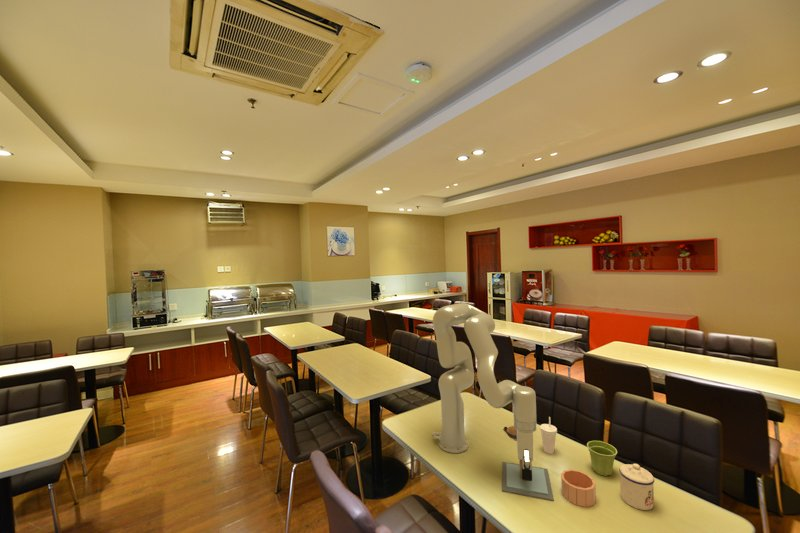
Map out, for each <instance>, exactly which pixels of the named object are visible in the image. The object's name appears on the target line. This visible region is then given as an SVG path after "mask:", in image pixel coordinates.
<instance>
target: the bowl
mask: <svg viewBox="0 0 800 533" xmlns="http://www.w3.org/2000/svg"><path fill="white" fill-rule="evenodd" d="M560 478H561V479H560V480H561V482H560V486H561V487H560V490H561V494H562V496H563V497H564V499H566V501H568V502H569V503H572V504H574V505H576V506H578V507H584V508H589V507H592V506H594V505H595V503H596V502H597V498H596V497H597V496H596V494H597V491H596V489H597V488H596V482H595V479H594V478H593V477H592V476H590V475H589V474H588V473H585V472H584V471H581V470H578V469H571V468H570V469H564V470H563V471H562V472H561V473H560Z"/></svg>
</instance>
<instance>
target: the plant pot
mask: <svg viewBox="0 0 800 533" xmlns="http://www.w3.org/2000/svg"><path fill="white" fill-rule="evenodd" d="M586 446H587V449H588V452H589V456H590V460H591V468H592V470H593V471H594V472H595V473H596V474H598V475H600V476H605V477H608V476H612V474H613V469H614V464H615V463H614V462H615V458H616V456H617V455H618V450H617V448H616V447H614V446H613V445H612V444H609V443H607V442H606V441H605V442H604V441H602V440H591V441H590V440H589V441H588V442H587V443H586Z"/></svg>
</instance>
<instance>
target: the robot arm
mask: <svg viewBox="0 0 800 533" xmlns="http://www.w3.org/2000/svg"><path fill="white" fill-rule="evenodd" d="M463 323H464V324H463ZM460 324H463V330H464V332H465V334H466V337H467V339H468V341H469V344H470V345H471V348H472V349H473V350H472V351H473V353H474V356H475V357H476V361H477V362H476V363H477V366H476V368H477V369H476V371H477V372H476V373H477V375H476V376H477V381H478V384H479V387H480V390H481V392H482V395H483V397H484V398H485V400H486V402H487V403H488V404H489V406H491V407H492V408H494V409H501V408H502V409H503V408H504V407H506V406H507V405H509V404H511V403H512V404H513V405H512V407H513V410H512V411H513V426H514V427H515V428H516V429H517V441H516V450H517V452H516V453H517V454H516V455H517V459H518V460H519V461H520V460H522V465H523V467H522V479H523V480H528V481H532V469H531V461H532V462H533V461H534V432H536V431H537V401H536V400H537V396H536V391H535V390H534V389H533V388H532V387H530V386H527V385H525V386H524V385H521V384H519V383H516V382H515V381H512V380H510V379H504V380H502V381H500V382H498V381H497V379H496V376H495V370H494V369H495V362H496V361H497V357H498V355H499V350H498V348H497V346H496V344H495V342H494V340H493V338H492V335H491V333H493V332H494V331H495V328H496V323H495V321H494V319H493V317H491V315H489V314H488V313H487V312H484V311H482V310H480V309H479V308H477V307H475V306H473V305H470V304H469V303H464V302H460V303H454V304H448V305H445V306H442V307H440V308H439V309H437V310H436V311H435V313H434V314H433V317H432V326H433V330H434V334H435V339H436V340H435V342H436V349H437V356H438V360H439V365H440V366H441V367H442V368H443V369H450V370H448V371H446V372H444V373H442V374H441V375H440V377H439V379H438V389H439V394H440V404H441V406H440V407H441V431H434V430H433V431H432V433H431V434H432V437H433V439H434V440H438V447H439V448H440V449H441V450H442V451H445V452H447V453H451V454H460V453H463V452H466V451H467V450H468V448H469V440H468V439H467V438H465V437H466V436H465V403H464V400H463V397H462V395H461V393H462V392H464V390H466V389H468V388H470V387H472V386H473V385H474V383H475V382H474V381H475V370H474V365H473V362H474V361H473V358H472V352H471V350H470V347H469V346H468V345H467V344H466V343H465V342H463V341H457V336H456V333H455V331H454V329H453V327H452V326H456V325H460ZM523 457H525V458H523ZM524 461H525V464H524Z"/></svg>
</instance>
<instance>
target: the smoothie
mask: <svg viewBox="0 0 800 533" xmlns="http://www.w3.org/2000/svg"><path fill="white" fill-rule="evenodd" d="M551 420H552V419H551V417H550V416H548V423H542V424H539V429H540V432H541V439H542V445H543V446H542V447H543V451H544V453H546V454H549V455H553V454H554V453H555V452H554V451H555V446H556V445H555V444H556V437H557V433H558V428H557V427H556V426H555V425H553V424H551Z"/></svg>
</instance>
